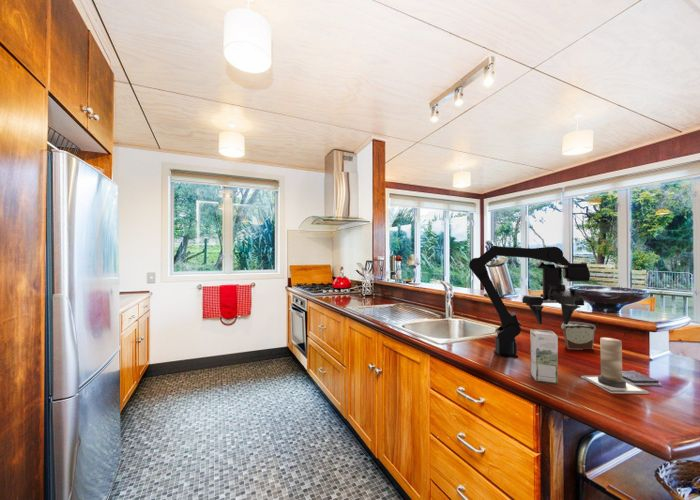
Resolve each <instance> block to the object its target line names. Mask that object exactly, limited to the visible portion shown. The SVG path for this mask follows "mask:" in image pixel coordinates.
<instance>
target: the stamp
mask: <svg viewBox="0 0 700 500" xmlns="http://www.w3.org/2000/svg"><path fill="white" fill-rule="evenodd" d="M599 341H600V345H599V346H600V374H598V375H597V376H598V381H599V382H600V383H602V384H604V385H607V386H611V387H616V388H625V387H626V381H624V380H623V379H622V371H623V350H622V349H623V345H622V344H623V343H622V340H620V339H616V338H612V337H600V339H599Z"/></svg>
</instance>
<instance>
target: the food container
mask: <svg viewBox="0 0 700 500" xmlns="http://www.w3.org/2000/svg"><path fill="white" fill-rule="evenodd" d="M560 329H562V330H563V340H564V345H565V349H568V350H583V349H593V350H594V339H595V338H594V337H595V331H597V328H596V325H595V324H592V323H588V322H580V321H569V322H568V324H567V325H566V324H564V321H563V322H562V323H561V326H560Z"/></svg>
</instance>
